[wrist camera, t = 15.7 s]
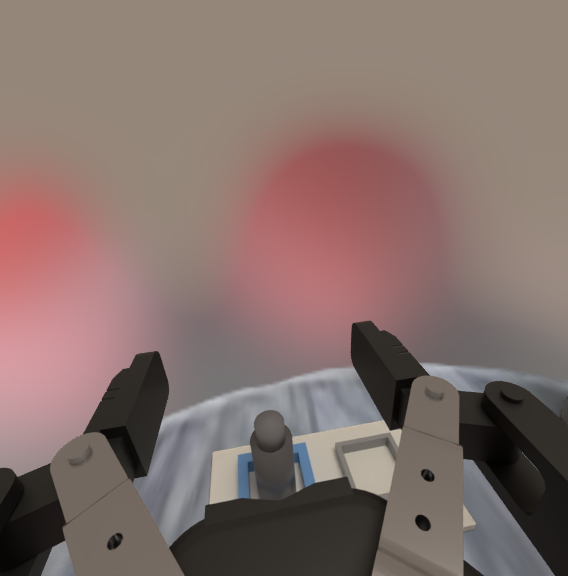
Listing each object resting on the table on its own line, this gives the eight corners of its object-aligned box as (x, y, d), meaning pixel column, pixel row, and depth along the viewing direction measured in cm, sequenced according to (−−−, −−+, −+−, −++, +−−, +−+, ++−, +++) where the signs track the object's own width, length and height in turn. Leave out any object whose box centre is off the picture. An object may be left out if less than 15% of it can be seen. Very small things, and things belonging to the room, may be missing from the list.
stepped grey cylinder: (272, 469, 37) (263, 399, 32) (303, 486, 35) (298, 414, 30) (252, 502, 34) (238, 430, 29) (284, 523, 32) (275, 449, 27)
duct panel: (404, 421, 44) (407, 406, 42) (474, 529, 31) (480, 513, 30) (214, 456, 40) (210, 441, 39) (205, 593, 28) (199, 578, 27)
